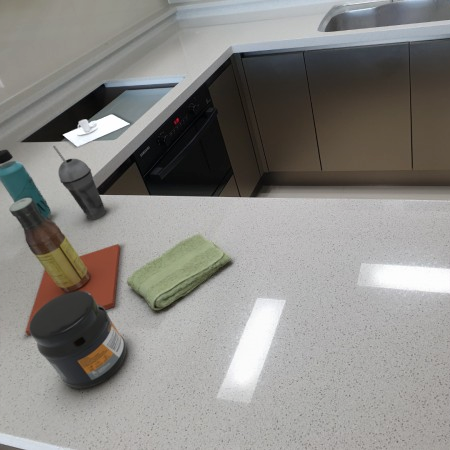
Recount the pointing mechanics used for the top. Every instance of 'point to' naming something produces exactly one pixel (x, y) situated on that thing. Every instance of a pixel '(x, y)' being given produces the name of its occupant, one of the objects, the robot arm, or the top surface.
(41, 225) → the sauce bottle
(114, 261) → the condiment mat
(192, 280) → the washcloth
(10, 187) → the beverage bottle
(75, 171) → the beverage cup
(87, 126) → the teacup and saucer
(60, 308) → the supplement container
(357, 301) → the top surface
